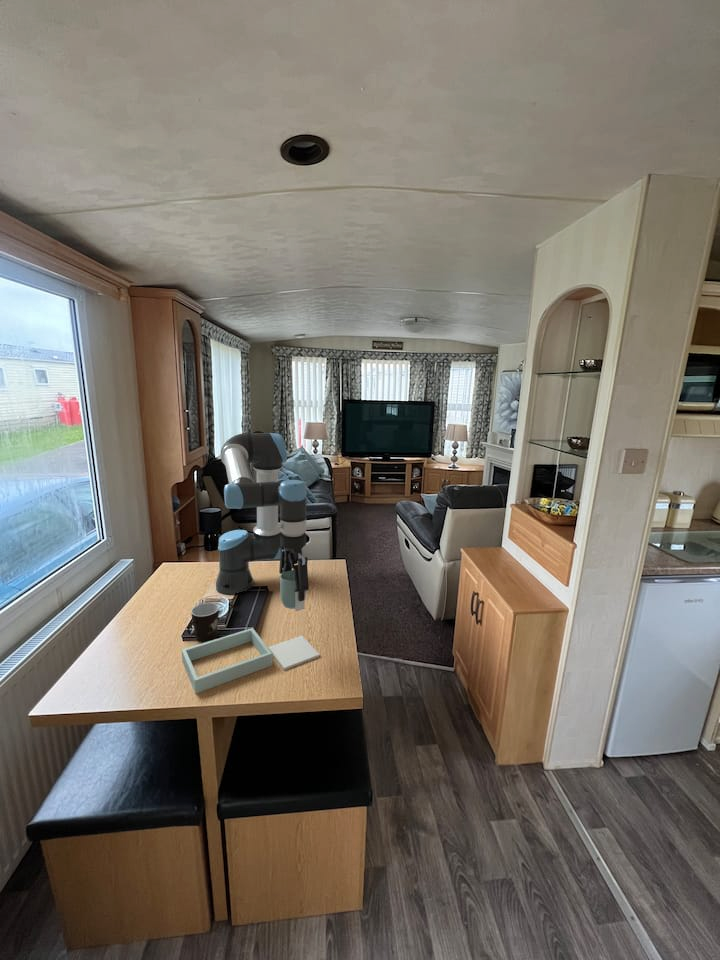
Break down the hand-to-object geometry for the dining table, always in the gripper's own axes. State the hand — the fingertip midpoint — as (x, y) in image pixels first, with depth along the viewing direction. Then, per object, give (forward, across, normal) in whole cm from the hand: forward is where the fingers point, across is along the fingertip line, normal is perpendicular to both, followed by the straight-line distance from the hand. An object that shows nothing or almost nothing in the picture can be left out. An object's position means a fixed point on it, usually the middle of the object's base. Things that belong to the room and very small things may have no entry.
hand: (293, 603), depth 125 cm
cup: (+1, 0, 0) cm, 1 cm away
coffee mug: (+17, -23, -22) cm, 36 cm away
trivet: (+17, 0, 0) cm, 17 cm away
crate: (+17, -6, -19) cm, 26 cm away
